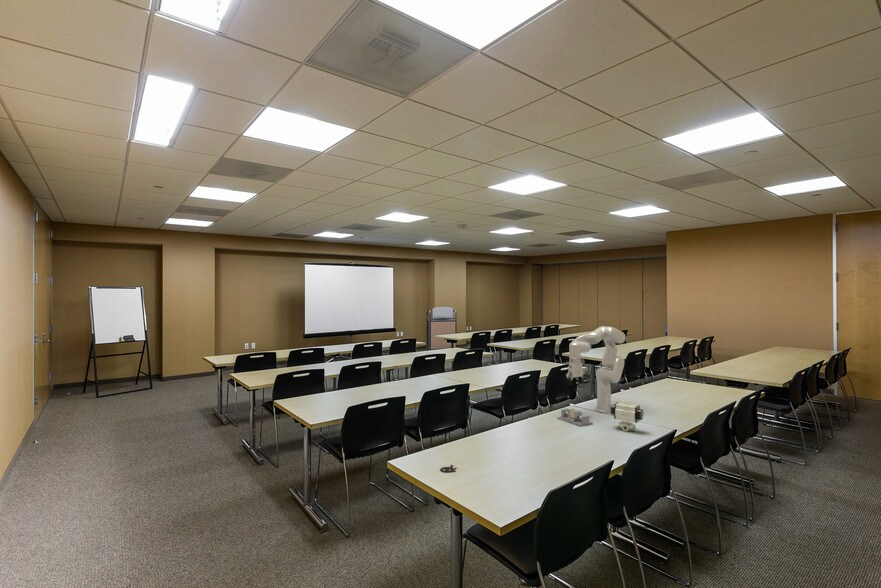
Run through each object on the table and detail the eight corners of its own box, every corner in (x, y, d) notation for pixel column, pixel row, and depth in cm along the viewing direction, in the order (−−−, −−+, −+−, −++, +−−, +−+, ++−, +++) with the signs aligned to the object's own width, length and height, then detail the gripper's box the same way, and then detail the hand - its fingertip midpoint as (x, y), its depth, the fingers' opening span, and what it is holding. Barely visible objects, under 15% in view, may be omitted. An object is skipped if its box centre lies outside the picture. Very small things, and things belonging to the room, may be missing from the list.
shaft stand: (557, 418, 292) (557, 410, 292) (570, 416, 298) (570, 407, 298) (580, 426, 275) (580, 417, 275) (592, 424, 281) (592, 415, 281)
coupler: (582, 420, 284) (582, 412, 284) (576, 421, 282) (576, 412, 282) (573, 417, 291) (573, 409, 291) (567, 418, 289) (567, 410, 289)
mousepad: (449, 465, 212) (449, 464, 212) (461, 469, 207) (461, 468, 207) (437, 471, 205) (437, 469, 205) (450, 475, 200) (450, 474, 200)
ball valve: (609, 428, 271) (610, 401, 271) (614, 425, 278) (614, 398, 278) (639, 434, 260) (640, 405, 260) (643, 431, 266) (643, 403, 266)
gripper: (570, 362, 288) (571, 387, 288) (587, 359, 296) (588, 384, 297) (562, 361, 294) (562, 385, 294) (579, 358, 303) (579, 382, 303)
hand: (575, 384), depth 296 cm, fingers open, 9 cm apart
